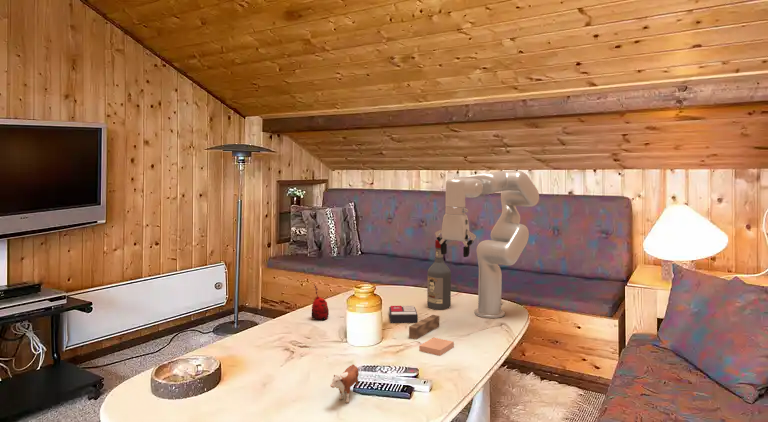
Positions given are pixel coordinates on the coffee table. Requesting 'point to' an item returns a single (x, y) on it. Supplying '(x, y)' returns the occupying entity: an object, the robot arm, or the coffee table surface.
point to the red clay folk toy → (319, 308)
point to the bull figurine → (346, 381)
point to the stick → (423, 326)
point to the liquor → (439, 282)
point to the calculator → (403, 314)
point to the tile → (436, 346)
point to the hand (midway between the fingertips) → (454, 255)
